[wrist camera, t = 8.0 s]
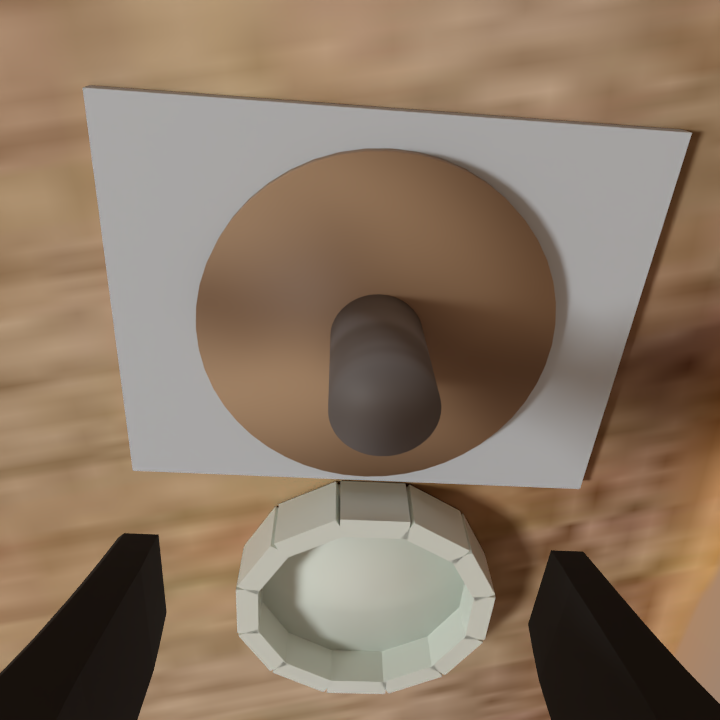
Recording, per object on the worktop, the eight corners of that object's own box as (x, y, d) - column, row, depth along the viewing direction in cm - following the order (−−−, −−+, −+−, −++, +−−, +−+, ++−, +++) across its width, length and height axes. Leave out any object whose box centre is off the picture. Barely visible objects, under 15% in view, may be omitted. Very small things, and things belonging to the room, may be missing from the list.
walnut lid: (514, 470, 22) (551, 571, 18) (208, 459, 22) (178, 561, 18) (588, 161, 17) (662, 208, 13) (188, 135, 17) (139, 175, 13)
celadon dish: (462, 653, 28) (469, 695, 26) (245, 647, 28) (239, 690, 26) (501, 487, 23) (514, 526, 22) (241, 476, 23) (233, 515, 21)
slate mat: (575, 479, 23) (579, 488, 23) (136, 461, 22) (133, 470, 22) (682, 129, 17) (692, 132, 17) (89, 85, 16) (82, 87, 16)
